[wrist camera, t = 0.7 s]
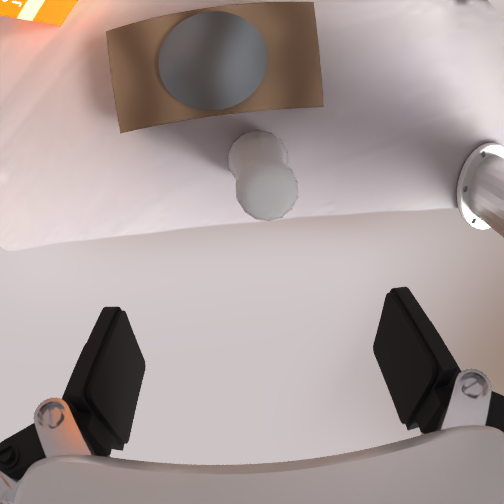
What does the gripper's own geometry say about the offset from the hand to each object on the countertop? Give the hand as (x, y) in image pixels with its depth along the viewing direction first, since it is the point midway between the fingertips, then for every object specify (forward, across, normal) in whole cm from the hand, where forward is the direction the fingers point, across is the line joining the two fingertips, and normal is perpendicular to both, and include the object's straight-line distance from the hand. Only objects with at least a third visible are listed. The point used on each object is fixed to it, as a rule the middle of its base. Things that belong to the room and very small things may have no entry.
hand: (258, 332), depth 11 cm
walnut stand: (+24, +2, -11) cm, 27 cm away
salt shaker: (+25, -1, -1) cm, 25 cm away
